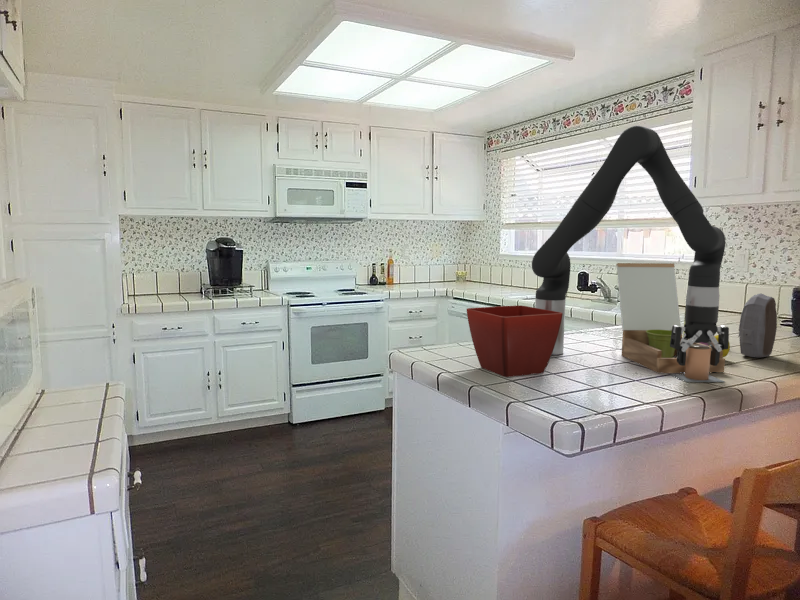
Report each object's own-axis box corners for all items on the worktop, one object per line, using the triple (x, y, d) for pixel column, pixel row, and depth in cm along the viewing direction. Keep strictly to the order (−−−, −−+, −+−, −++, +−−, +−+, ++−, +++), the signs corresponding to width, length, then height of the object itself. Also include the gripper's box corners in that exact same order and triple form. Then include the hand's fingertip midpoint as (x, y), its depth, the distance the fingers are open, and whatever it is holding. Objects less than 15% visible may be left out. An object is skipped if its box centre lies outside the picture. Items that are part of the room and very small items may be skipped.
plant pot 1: (463, 366, 154) (464, 307, 152) (519, 360, 161) (521, 304, 159) (501, 382, 136) (503, 316, 134) (562, 375, 144) (564, 313, 142)
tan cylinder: (692, 380, 139) (694, 348, 138) (680, 374, 144) (682, 344, 143) (713, 380, 139) (715, 348, 138) (700, 374, 145) (702, 344, 144)
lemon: (727, 359, 166) (729, 333, 165) (729, 362, 161) (732, 336, 160) (707, 357, 168) (708, 331, 167) (708, 360, 163) (710, 334, 162)
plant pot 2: (684, 364, 158) (686, 335, 157) (652, 363, 159) (654, 334, 158) (669, 357, 168) (671, 329, 167) (639, 356, 168) (640, 329, 167)
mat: (686, 382, 138) (686, 381, 137) (669, 374, 145) (669, 373, 145) (724, 382, 138) (725, 381, 138) (706, 374, 146) (706, 373, 146)
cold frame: (658, 373, 147) (660, 344, 146) (621, 355, 169) (622, 330, 168) (724, 373, 148) (726, 344, 147) (678, 355, 170) (680, 330, 169)
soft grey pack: (759, 361, 162) (765, 295, 160) (729, 356, 169) (734, 293, 167) (776, 355, 172) (781, 292, 170) (746, 350, 178) (751, 290, 176)
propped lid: (622, 356, 169) (627, 264, 166) (606, 348, 181) (610, 262, 177) (679, 356, 170) (685, 264, 167) (659, 348, 181) (665, 262, 178)
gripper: (683, 305, 135) (679, 368, 137) (738, 305, 136) (733, 368, 138) (667, 302, 143) (663, 362, 145) (719, 302, 143) (715, 361, 145)
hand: (697, 365), depth 141 cm, fingers open, 8 cm apart
